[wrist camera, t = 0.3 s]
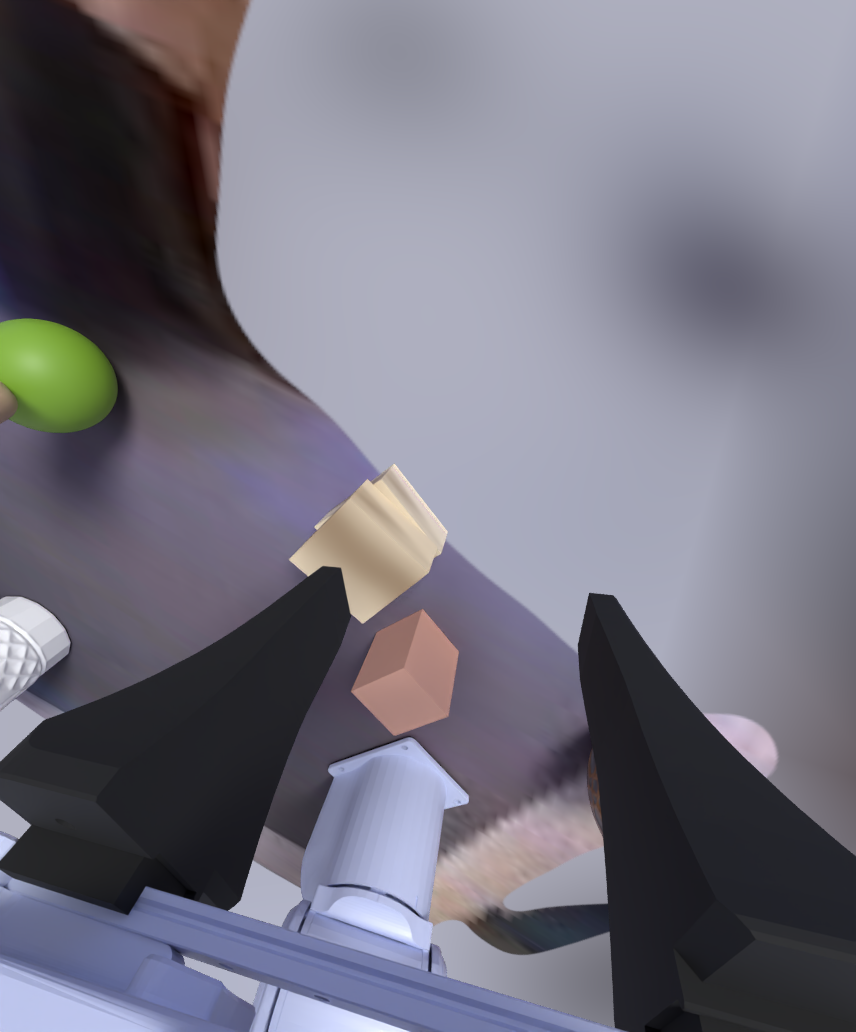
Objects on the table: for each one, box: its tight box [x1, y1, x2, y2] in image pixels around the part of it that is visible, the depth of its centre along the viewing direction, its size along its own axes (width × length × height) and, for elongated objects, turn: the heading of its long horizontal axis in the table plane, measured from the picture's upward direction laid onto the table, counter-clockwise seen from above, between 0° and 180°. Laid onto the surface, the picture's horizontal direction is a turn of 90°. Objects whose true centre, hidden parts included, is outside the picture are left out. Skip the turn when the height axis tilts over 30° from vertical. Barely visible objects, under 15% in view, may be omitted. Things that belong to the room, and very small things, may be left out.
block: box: [351, 609, 459, 736], centre depth 25 cm, size 4×4×5 cm
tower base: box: [315, 464, 448, 557], centre depth 23 cm, size 5×5×2 cm
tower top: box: [289, 479, 438, 624], centre depth 20 cm, size 5×5×2 cm
